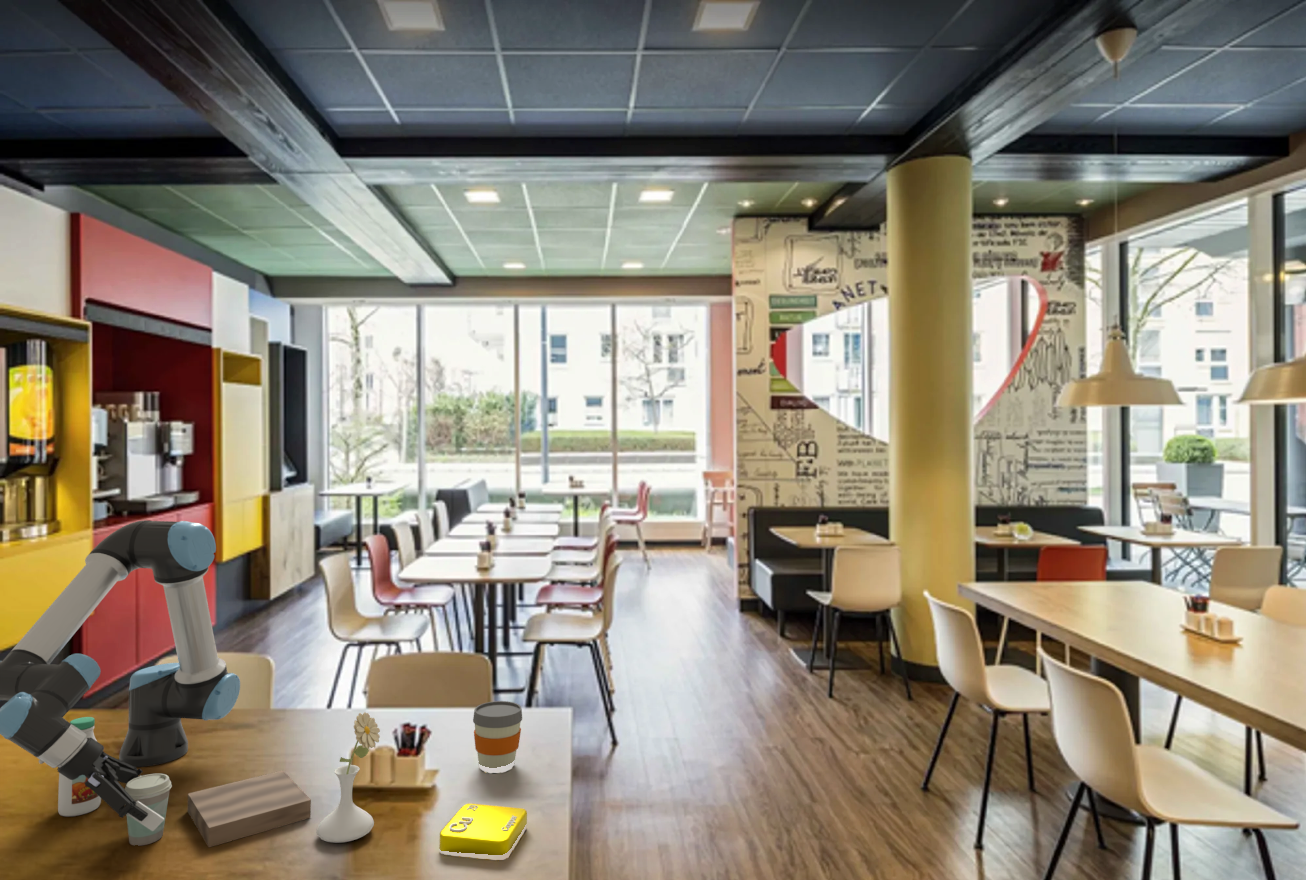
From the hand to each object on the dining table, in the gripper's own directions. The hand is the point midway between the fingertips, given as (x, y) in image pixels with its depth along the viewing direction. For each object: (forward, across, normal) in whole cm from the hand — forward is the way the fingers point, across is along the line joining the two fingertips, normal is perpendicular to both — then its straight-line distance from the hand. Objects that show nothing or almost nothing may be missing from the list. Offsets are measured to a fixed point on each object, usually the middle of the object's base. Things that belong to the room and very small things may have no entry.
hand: (159, 810), depth 162 cm
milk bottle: (-7, -22, -15) cm, 27 cm away
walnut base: (+16, -1, +8) cm, 18 cm away
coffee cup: (+2, 0, -5) cm, 6 cm away
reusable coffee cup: (+56, 0, +48) cm, 74 cm away
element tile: (+46, +34, +37) cm, 68 cm away
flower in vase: (+28, +18, +20) cm, 39 cm away
